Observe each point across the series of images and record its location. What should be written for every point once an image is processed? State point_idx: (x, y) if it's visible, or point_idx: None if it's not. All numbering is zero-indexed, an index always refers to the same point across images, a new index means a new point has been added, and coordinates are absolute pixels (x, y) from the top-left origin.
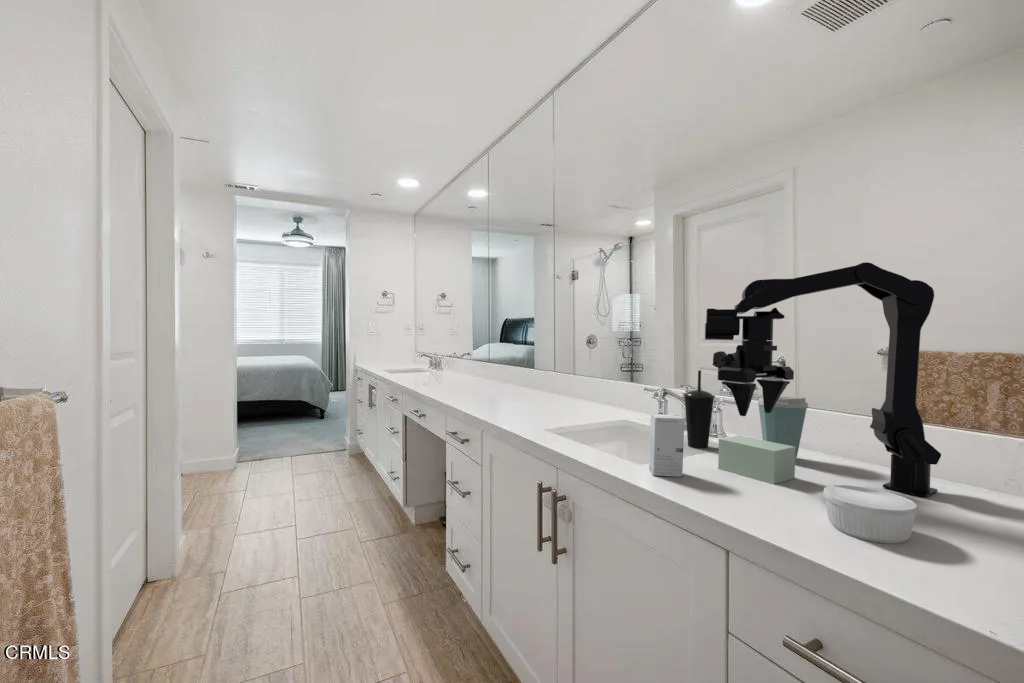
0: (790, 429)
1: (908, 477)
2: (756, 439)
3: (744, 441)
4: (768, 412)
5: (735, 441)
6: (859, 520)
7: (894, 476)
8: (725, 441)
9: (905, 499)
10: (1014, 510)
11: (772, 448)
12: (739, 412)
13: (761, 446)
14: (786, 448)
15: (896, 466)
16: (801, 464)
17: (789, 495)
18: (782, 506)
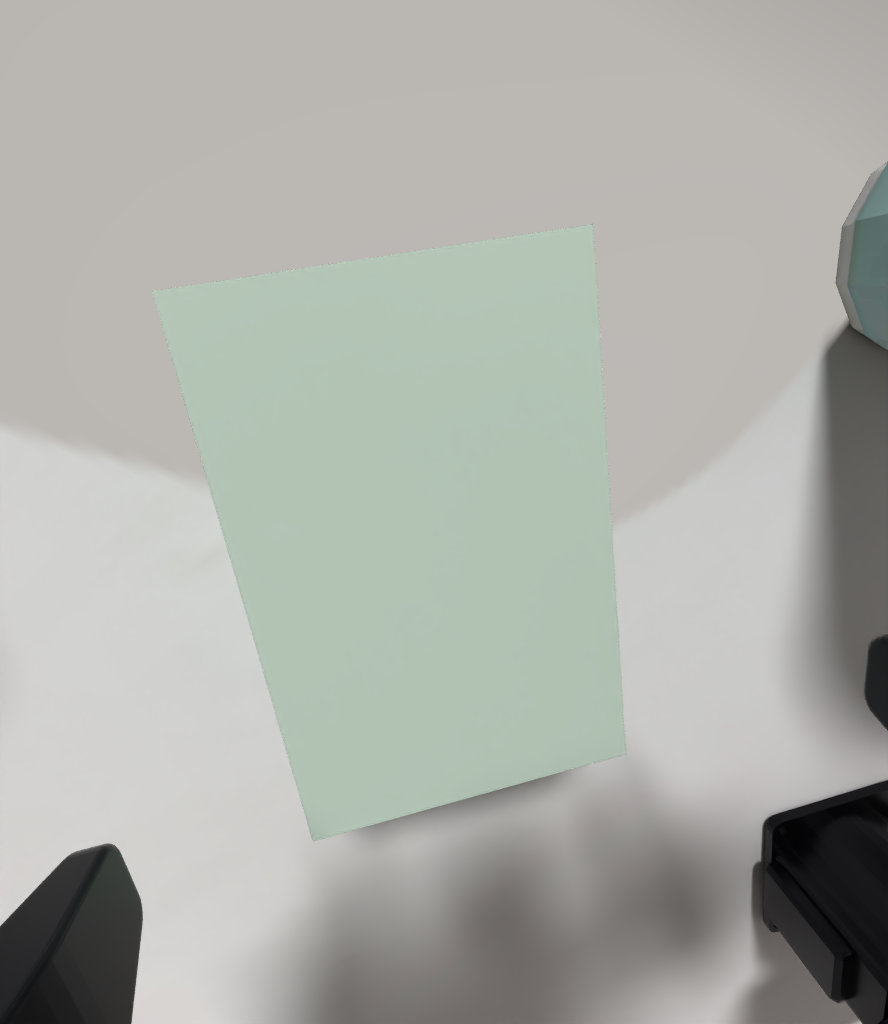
0: None
1: (804, 959)
2: (575, 458)
3: (366, 494)
4: (868, 693)
5: (259, 469)
6: None
7: (800, 913)
8: (184, 382)
9: None
10: None
11: (383, 768)
12: (32, 908)
13: (351, 696)
14: (501, 785)
15: (842, 963)
16: (873, 417)
17: (231, 827)
18: None
